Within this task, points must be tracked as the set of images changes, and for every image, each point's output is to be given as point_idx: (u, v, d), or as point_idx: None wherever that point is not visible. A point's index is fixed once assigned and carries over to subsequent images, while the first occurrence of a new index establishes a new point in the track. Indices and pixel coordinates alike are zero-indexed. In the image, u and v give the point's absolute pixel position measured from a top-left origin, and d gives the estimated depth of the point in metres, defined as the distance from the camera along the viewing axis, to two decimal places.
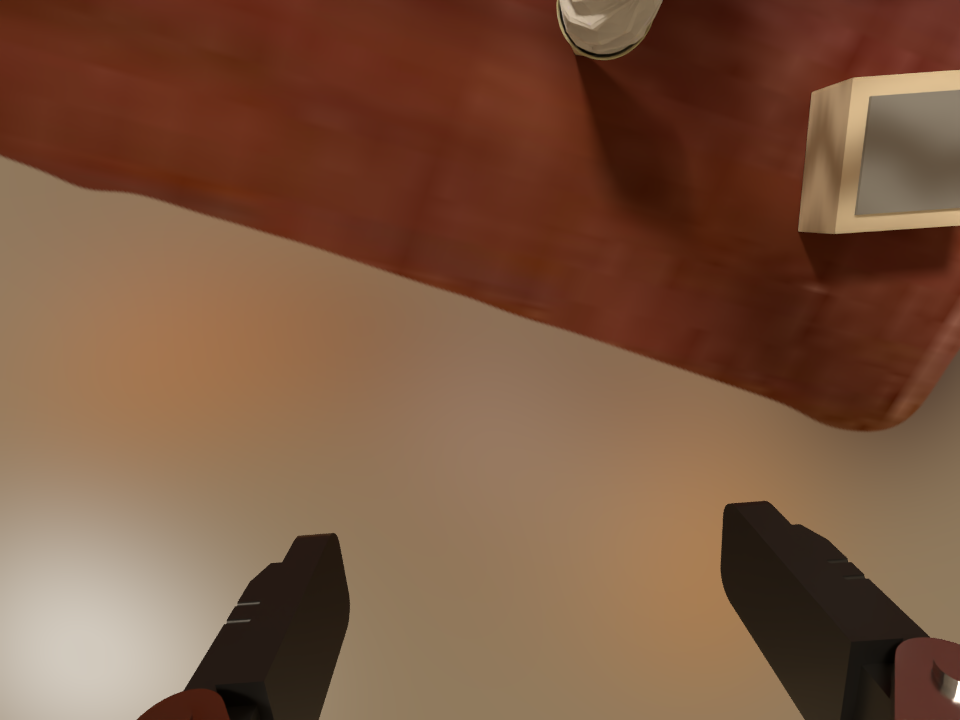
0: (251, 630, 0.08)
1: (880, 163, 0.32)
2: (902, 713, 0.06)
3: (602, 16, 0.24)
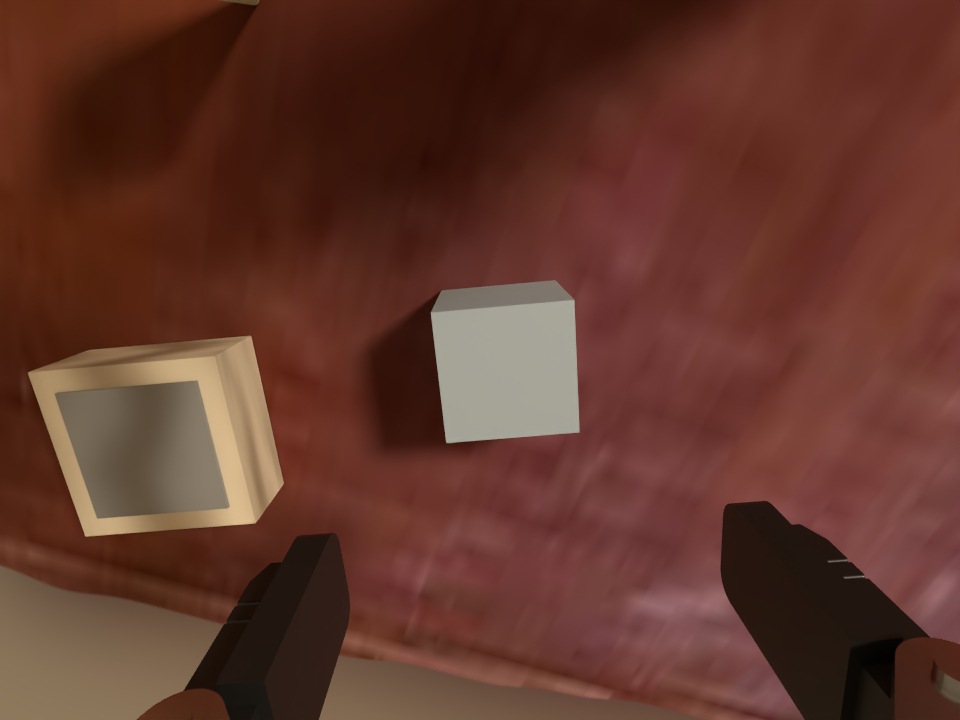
0: (252, 630, 0.08)
1: (121, 409, 0.25)
2: (902, 713, 0.06)
3: None
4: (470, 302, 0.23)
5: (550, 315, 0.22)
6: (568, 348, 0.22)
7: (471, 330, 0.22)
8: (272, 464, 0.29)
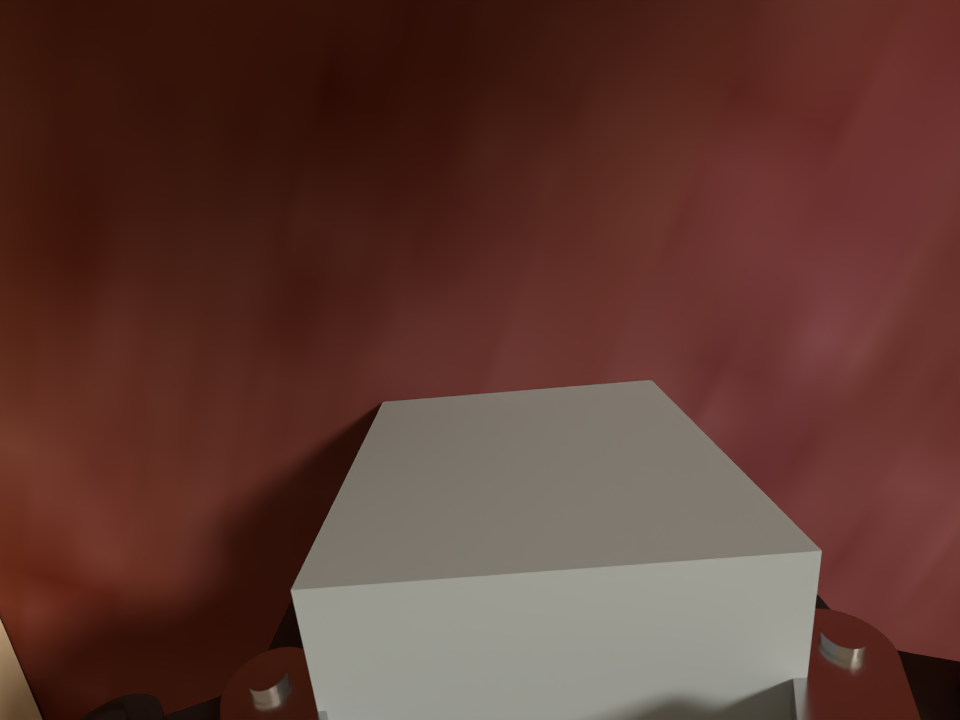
0: None
1: None
2: (800, 686, 0.06)
3: None
4: (442, 505, 0.07)
5: (726, 599, 0.06)
6: (778, 694, 0.06)
7: (442, 645, 0.06)
8: None
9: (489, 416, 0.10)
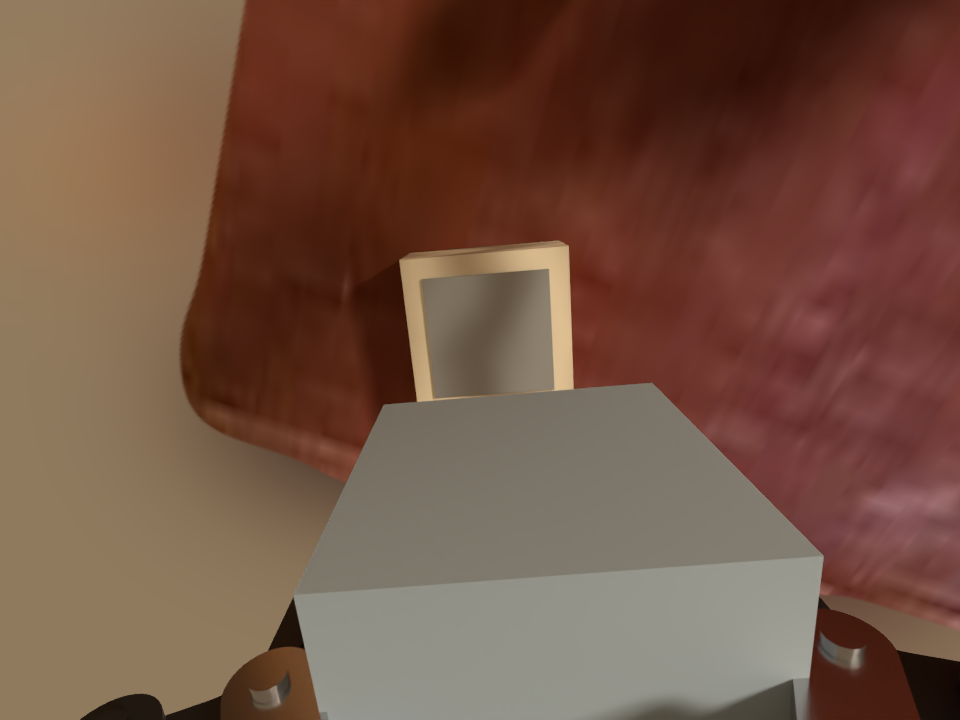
0: None
1: (478, 294, 0.28)
2: (800, 686, 0.06)
3: None
4: (444, 509, 0.07)
5: (728, 603, 0.06)
6: (781, 700, 0.06)
7: (445, 651, 0.06)
8: None
9: (490, 419, 0.10)
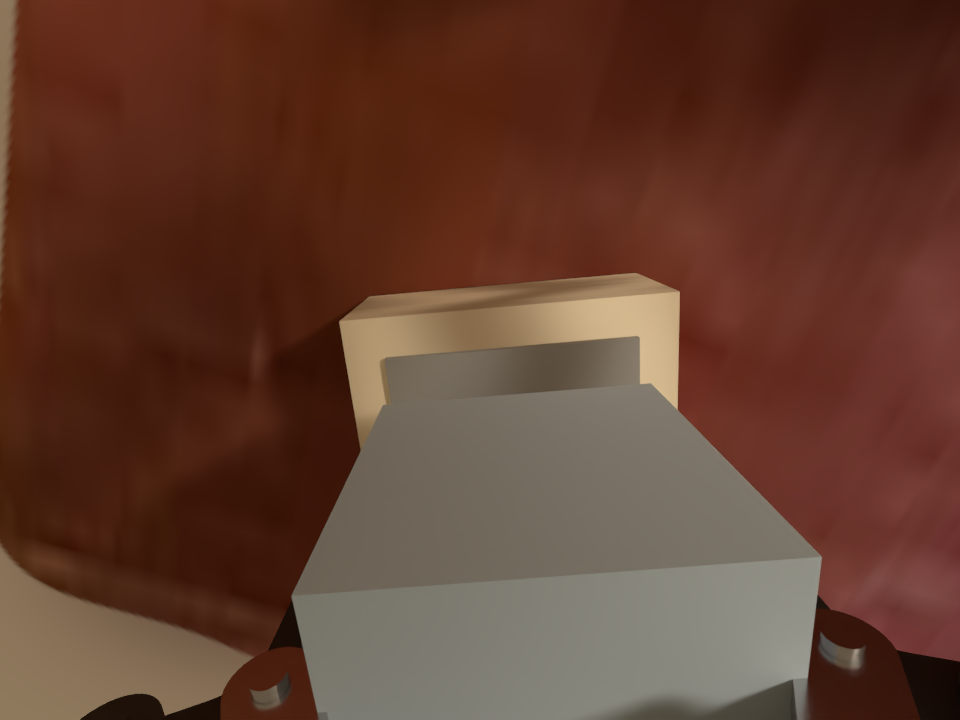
0: None
1: (497, 387, 0.14)
2: (800, 686, 0.06)
3: None
4: (442, 509, 0.07)
5: (726, 604, 0.06)
6: (779, 700, 0.06)
7: (442, 652, 0.06)
8: None
9: (489, 419, 0.10)
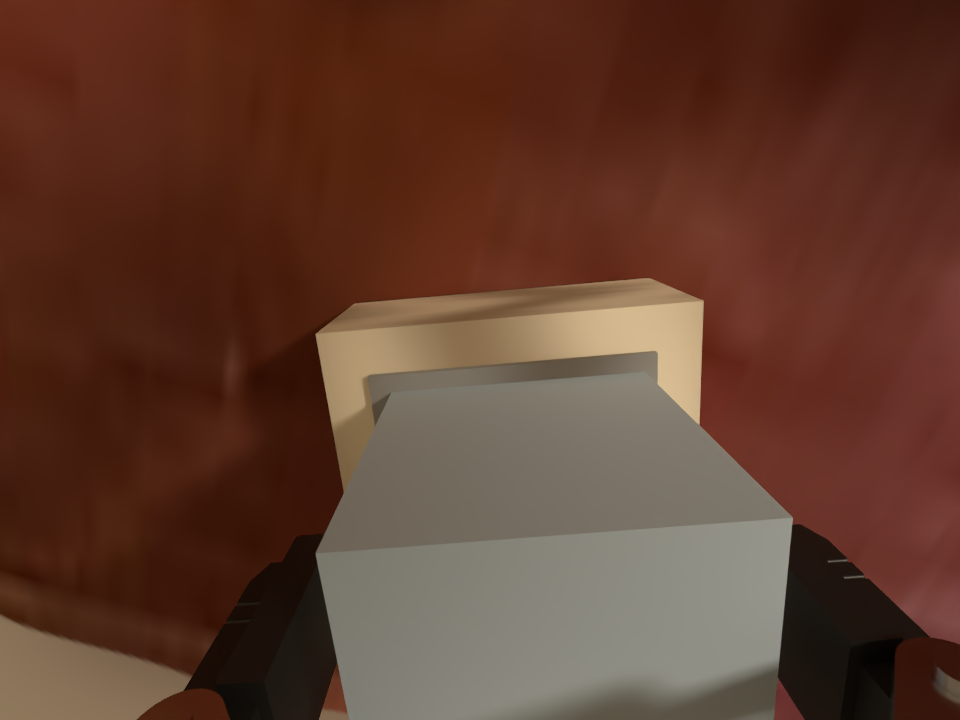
0: (252, 630, 0.08)
1: None
2: (902, 713, 0.06)
3: None
4: (450, 482, 0.08)
5: (708, 561, 0.07)
6: (756, 651, 0.07)
7: (451, 604, 0.07)
8: None
9: (492, 405, 0.11)
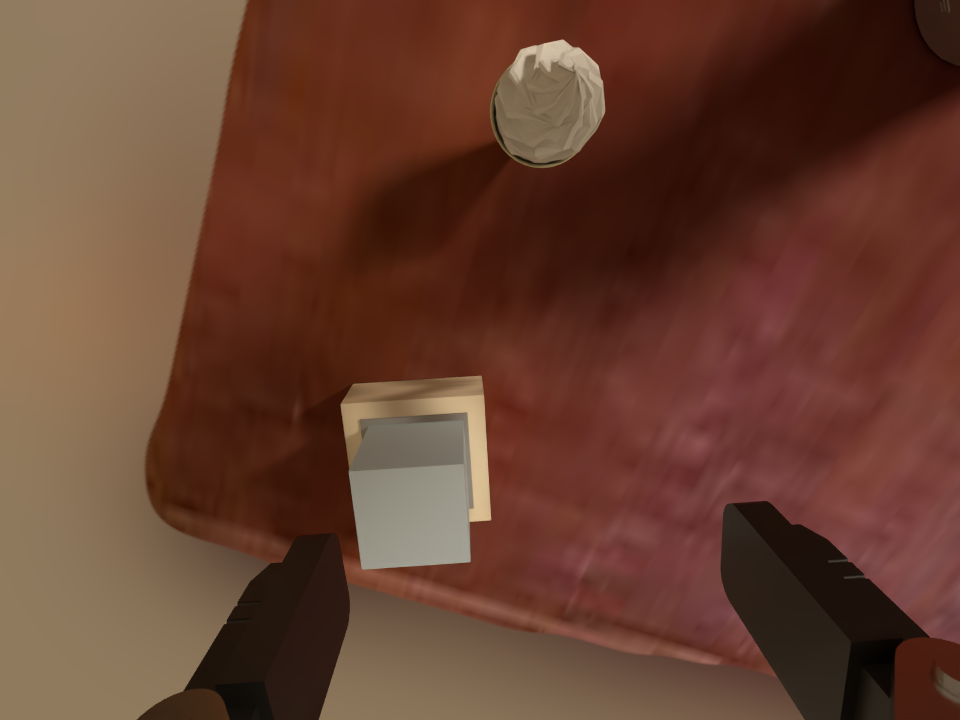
0: (252, 630, 0.08)
1: None
2: (902, 713, 0.06)
3: (519, 78, 0.22)
4: (384, 456, 0.29)
5: (444, 474, 0.27)
6: (459, 499, 0.28)
7: (382, 485, 0.28)
8: None
9: (403, 432, 0.32)
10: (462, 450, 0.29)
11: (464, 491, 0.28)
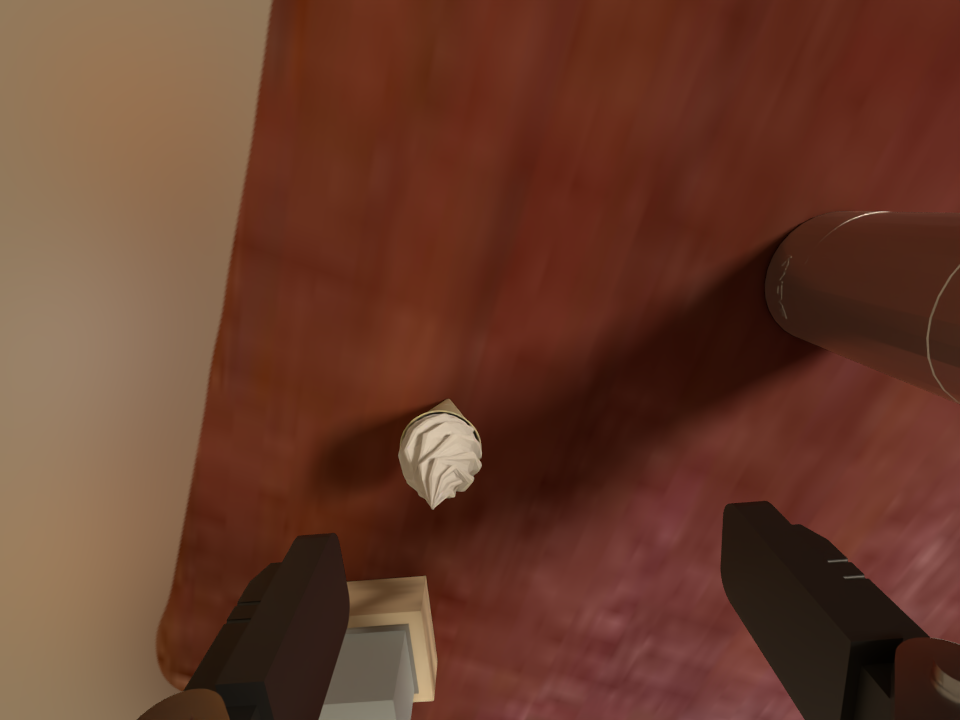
0: (252, 630, 0.08)
1: None
2: (901, 713, 0.06)
3: (410, 459, 0.29)
4: (334, 684, 0.37)
5: (379, 707, 0.35)
6: None
7: (330, 715, 0.35)
8: (434, 652, 0.46)
9: (355, 647, 0.39)
10: (396, 678, 0.37)
11: (395, 718, 0.35)
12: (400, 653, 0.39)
